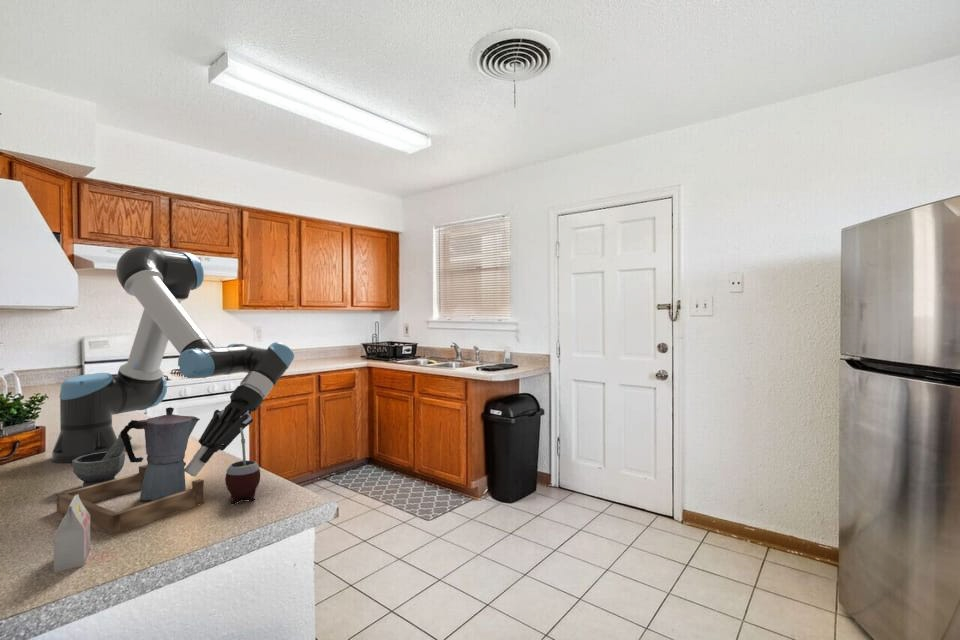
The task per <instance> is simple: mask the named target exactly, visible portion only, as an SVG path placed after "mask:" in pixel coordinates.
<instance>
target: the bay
mask: <svg viewBox="0 0 960 640" xmlns="http://www.w3.org/2000/svg"><path fill="white" fill-rule="evenodd" d="M146 467H147V464H144V465H139V466H138V472H137V473H134V474H130V475H126V476H123V477H118V478H115V479H114V480H110V481H106V482H103V483H99V484H95V485H91V486H87V487H84V488H82V487H80V488H77V489H74V490H73V489H72V490H70V491H65V492H61V493H58V494H56V512H57V511H58V513H60V514H63V515H64V516H65V515H66V513H67V511H68V507H69V506H70V504H71V502H72V500H73V498H74V496H75V495H79V498H80V500H81V502H82V504H83V505H84V507H85V508H86V510H87V511H88V513H89V514H90V527H94V528H95V529H97V530H101V531H103V532H105V533H107V534H110V535H112V536H113V535H116V534H119V533H121V532H124V531H128V530H130V529H134V528H135V527H138V526H141V525H145V524H147V523H151V522H152V521H156V520H158V519H162V518H164V517H168V516H170V515H172V514H175V513H178V512H180V511H181V512H182V511H184V510H187V509H190V508H192V507H195V505H197V506H199V504H200V505H202V504H204V503H205V501H204V500H205V499H204V498H205V497H204V496H205V494H204V493H205V490H204V488H205V487H204V486H205V480H203V479H195V480H192V482H191V488H189V489H186V491H183V492H180V493H177V494H173V495H170V496H167V497H164V498H161V499H158V500H155V501H147V502H145V503H142V504H140V505H136V506H133V507H129V508H127V509H123V510H121V511H117V512H116V511H114V510H111V509H108V508H105V507H103V506H101V505H97V504H95V503H96V502H100V501H103V499H104V500H106V499H107V500H108V499H110V497H111V498H113V497H116V496H117V497H118V496H120V495H124V494H128V493H131V492H134V491H138V490H142V485H143V481H144V476H145V472H146Z"/></svg>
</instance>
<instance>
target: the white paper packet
mask: <svg viewBox="0 0 960 640" xmlns="http://www.w3.org/2000/svg"><path fill="white" fill-rule="evenodd" d="M90 550H91V525H90V514H89V513H88V511H87V510H86V508H85V507H84V505H83V504H82V502H81V500H80V498H79V495H75V496H74V498H73V500H72V502H71V504H70V506H69V507H68V511H67V513H66V515H65V514H64V517H63V518H62V520H61V522H60V524H59V525H58V528H57V529H56V531H55V533H54V535H53V572H54V573H57V572H60V571H64V570H65V571H66V570H71V569H74V568H79V567H84V566H85V563H86V560H87V557H88V555H89V553H90Z"/></svg>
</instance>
